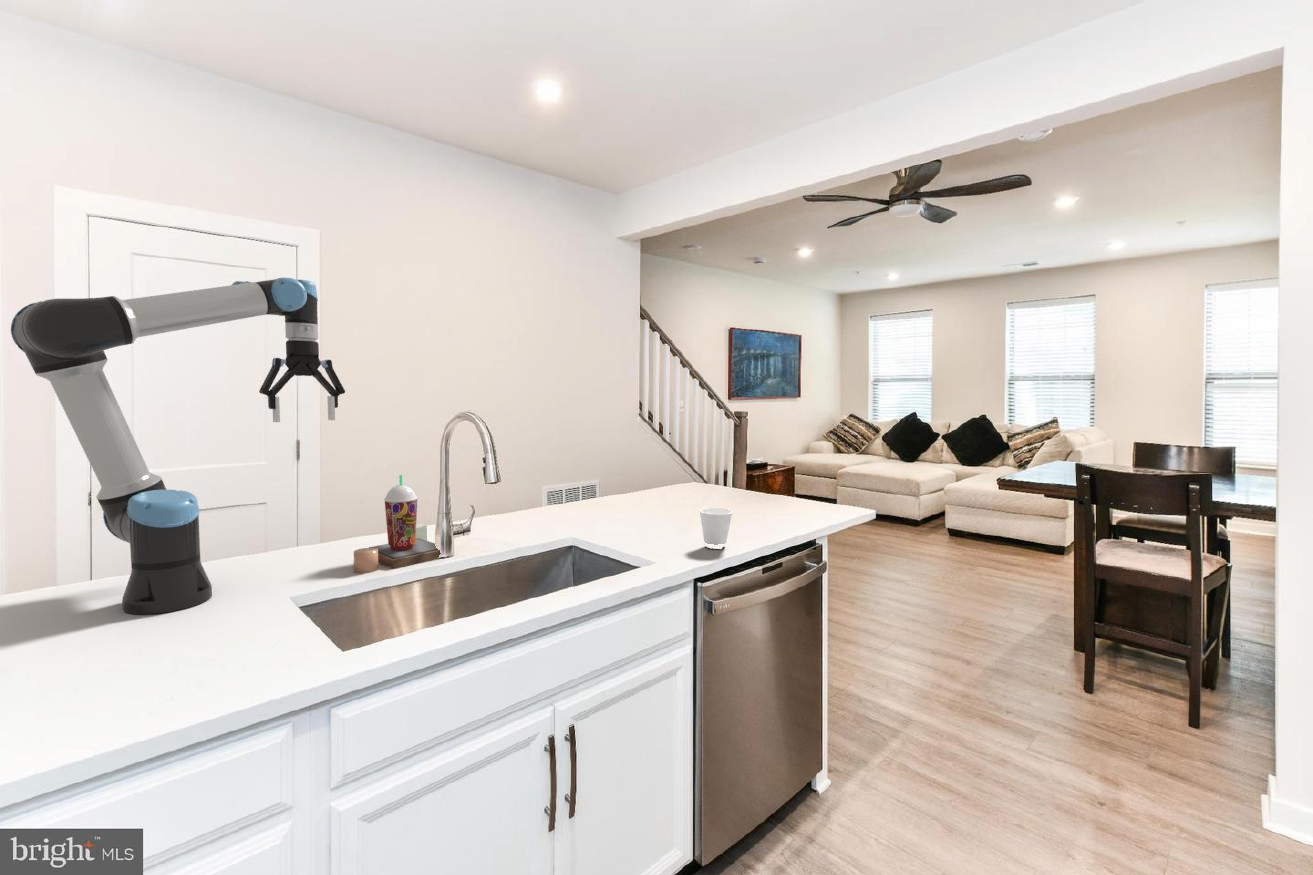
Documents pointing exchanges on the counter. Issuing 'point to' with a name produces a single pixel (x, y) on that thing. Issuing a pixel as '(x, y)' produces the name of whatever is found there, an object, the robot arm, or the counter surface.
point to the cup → (715, 524)
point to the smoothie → (401, 517)
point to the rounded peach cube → (366, 560)
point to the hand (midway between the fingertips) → (304, 421)
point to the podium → (407, 554)
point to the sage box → (421, 531)
